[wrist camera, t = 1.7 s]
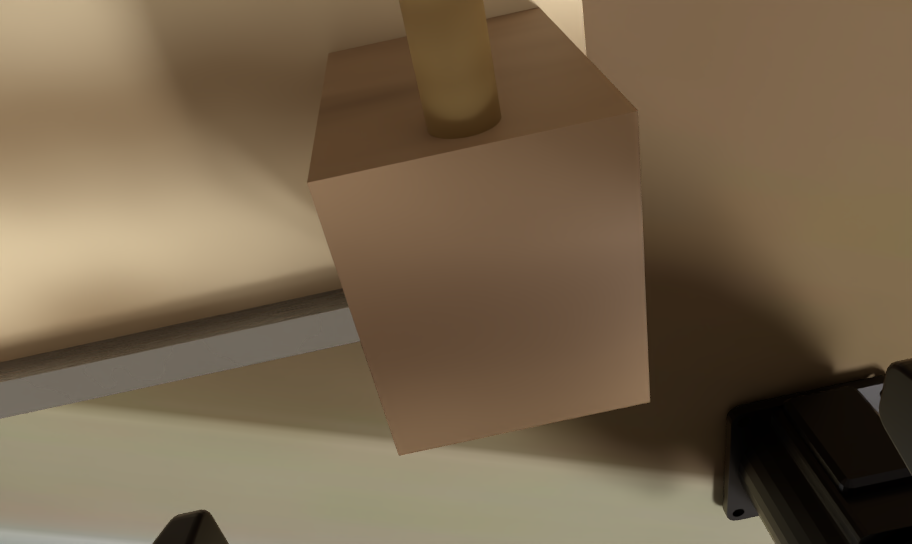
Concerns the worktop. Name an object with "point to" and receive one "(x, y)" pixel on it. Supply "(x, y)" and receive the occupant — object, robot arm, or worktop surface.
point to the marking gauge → (484, 223)
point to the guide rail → (175, 352)
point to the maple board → (169, 157)
